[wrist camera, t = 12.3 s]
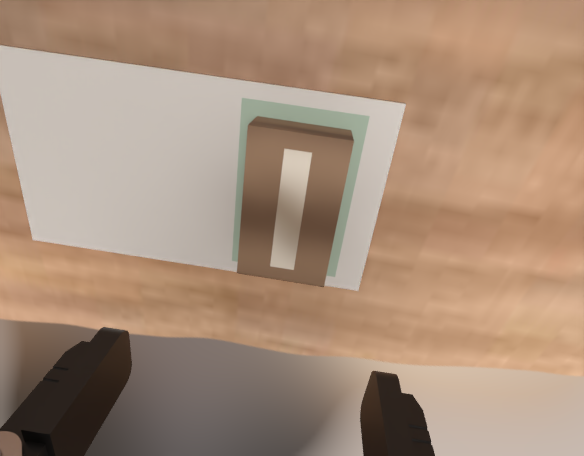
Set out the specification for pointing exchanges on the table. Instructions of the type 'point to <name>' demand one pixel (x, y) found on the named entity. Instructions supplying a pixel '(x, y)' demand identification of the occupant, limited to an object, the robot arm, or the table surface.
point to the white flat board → (172, 156)
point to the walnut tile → (291, 199)
